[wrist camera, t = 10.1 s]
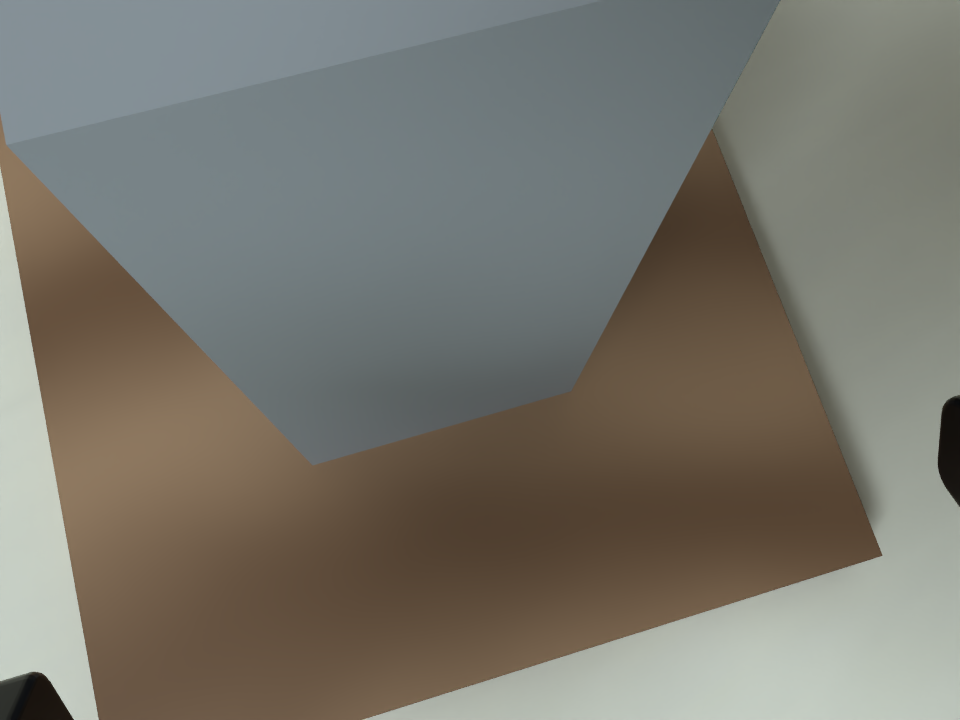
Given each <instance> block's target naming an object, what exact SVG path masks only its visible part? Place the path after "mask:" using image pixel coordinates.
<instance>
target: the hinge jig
mask: <svg viewBox="0 0 960 720" xmlns="http://www.w3.org/2000/svg"><path fill="white" fill-rule="evenodd" d="M0 167H1V172H2V178H3V184H4V189H5V195H6V200H7V206H8V212H9V217H10V223H11V229H12V234H13V240H14V245H15V251H16V257H17V262H18V268H19V273H20V279H21V285H22V290H23V296H24V301H25V307H26V313H27V318H28V324H29V330H30V335H31V341H32V346H33V352H34V358H35V363H36V369H37V374H38V380H39V386H40V391H41V397H42V403H43V408H44V414H45V419H46V425H47V431H48V436H49V442H50V447H51V453H52V459H53V464H54V470H55V476H56V481H57V487H58V492H59V498H60V504H61V509H62V515H63V520H64V526H65V532H66V537H67V543H68V549H69V554H70V560H71V565H72V571H73V577H74V582H75V588H76V593H77V599H78V605H79V610H80V616H81V622H82V627H83V633H84V638H85V644H86V650H87V655H88V661H89V666H90V672H91V678H92V683H93V689H94V695H95V700H96V706H97V711H98V717H99V720H363V719H366V718H369V717H372V716H375V715H378V714H382V713H385V712H388V711H391V710H394V709H398V708H401V707H404V706H407V705H410V704H413V703H417V702H420V701H423V700H426V699H429V698H432V697H436V696H439V695H442V694H445V693H448V692H451V691H455V690H458V689H461V688H464V687H467V686H470V685H474V684H477V683H480V682H483V681H486V680H490V679H493V678H496V677H499V676H502V675H505V674H509V673H512V672H515V671H518V670H521V669H524V668H528V667H531V666H534V665H537V664H540V663H543V662H547V661H550V660H553V659H556V658H559V657H562V656H566V655H569V654H572V653H575V652H578V651H582V650H585V649H588V648H591V647H594V646H597V645H601V644H604V643H607V642H610V641H613V640H616V639H620V638H623V637H626V636H629V635H632V634H635V633H639V632H642V631H645V630H648V629H651V628H654V627H658V626H661V625H664V624H667V623H670V622H673V621H677V620H680V619H683V618H686V617H689V616H693V615H696V614H699V613H702V612H705V611H708V610H712V609H715V608H718V607H721V606H724V605H727V604H731V603H734V602H737V601H740V600H743V599H746V598H750V597H753V596H756V595H759V594H762V593H765V592H769V591H772V590H775V589H778V588H781V587H785V586H788V585H791V584H794V583H797V582H800V581H804V580H807V579H810V578H813V577H816V576H819V575H823V574H826V573H829V572H832V571H835V570H838V569H842V568H845V567H848V566H851V565H854V564H857V563H861V562H864V561H867V560H870V559H873V558H877V557H880V556H882V553H881V551H880V548H879V546H878V543H877V541H876V538H875V536H874V533H873V531H872V528H871V526H870V523H869V520H868V518H867V515H866V513H865V510H864V508H863V505H862V503H861V500H860V498H859V495H858V493H857V490H856V488H855V485H854V483H853V480H852V478H851V475H850V473H849V470H848V468H847V465H846V463H845V460H844V458H843V455H842V453H841V450H840V448H839V445H838V443H837V440H836V438H835V435H834V433H833V430H832V428H831V425H830V423H829V420H828V418H827V415H826V413H825V410H824V408H823V405H822V403H821V400H820V398H819V395H818V393H817V390H816V388H815V385H814V383H813V380H812V378H811V375H810V373H809V370H808V368H807V365H806V363H805V360H804V358H803V355H802V353H801V350H800V348H799V345H798V343H797V340H796V338H795V335H794V333H793V330H792V328H791V325H790V323H789V320H788V318H787V315H786V313H785V310H784V308H783V305H782V303H781V300H780V298H779V295H778V293H777V290H776V288H775V285H774V283H773V280H772V278H771V275H770V273H769V270H768V268H767V265H766V263H765V260H764V258H763V255H762V253H761V250H760V248H759V245H758V243H757V240H756V238H755V235H754V233H753V230H752V228H751V225H750V223H749V220H748V218H747V215H746V213H745V210H744V208H743V205H742V203H741V200H740V198H739V195H738V193H737V190H736V188H735V185H734V183H733V180H732V178H731V175H730V173H729V170H728V168H727V165H726V163H725V160H724V158H723V155H722V153H721V150H720V148H719V145H718V143H717V140H716V138H715V135H714V133H713V130H712V129H711V131H710V133H709V135H708V136H707V138H706V140H705V142H704V144H703V146H702V148H701V150H700V151H699V153H698V155H697V157H696V159H695V161H694V163H693V164H692V166H691V168H690V170H689V172H688V174H687V176H686V178H685V179H684V181H683V183H682V185H681V187H680V189H679V191H678V193H677V194H676V196H675V198H674V200H673V202H672V204H671V206H670V207H669V209H668V211H667V213H666V215H665V217H664V219H663V221H662V222H661V224H660V226H659V228H658V230H657V232H656V234H655V236H654V237H653V239H652V241H651V243H650V245H649V247H648V249H647V250H646V252H645V254H644V256H643V258H642V260H641V262H640V264H639V265H638V267H637V269H636V271H635V273H634V275H633V277H632V279H631V280H630V282H629V284H628V286H627V288H626V290H625V292H624V293H623V295H622V297H621V299H620V301H619V303H618V305H617V307H616V308H615V310H614V312H613V314H612V316H611V318H610V320H609V322H608V323H607V325H606V327H605V329H604V331H603V333H602V335H601V336H600V338H599V340H598V342H597V344H596V346H595V348H594V350H593V351H592V353H591V355H590V357H589V359H588V361H587V363H586V365H585V366H584V368H583V370H582V372H581V374H580V376H579V378H578V379H577V381H576V383H575V385H574V387H573V389H572V391H570V392H567V393H563V394H560V395H556V396H553V397H549V398H546V399H542V400H539V401H535V402H532V403H528V404H525V405H521V406H518V407H515V408H511V409H508V410H504V411H501V412H497V413H494V414H490V415H487V416H483V417H480V418H476V419H473V420H469V421H466V422H462V423H459V424H455V425H452V426H448V427H445V428H441V429H438V430H434V431H431V432H427V433H424V434H420V435H417V436H413V437H410V438H406V439H403V440H400V441H396V442H393V443H389V444H386V445H382V446H379V447H375V448H372V449H368V450H365V451H361V452H358V453H354V454H351V455H347V456H344V457H340V458H337V459H333V460H330V461H326V462H323V463H319V464H316V465H312V464H311V463H310V462H309V461H308V460H307V459H306V458H305V457H304V456H303V455H302V454H301V453H300V452H299V451H298V450H297V449H296V448H295V447H294V446H293V444H292V443H291V442H290V441H289V440H288V439H287V438H286V437H285V436H284V435H283V434H282V433H281V432H280V431H279V430H278V429H277V428H276V427H275V426H274V425H273V424H272V422H271V421H270V420H269V419H268V418H267V417H266V416H265V415H264V414H263V413H262V412H261V411H260V410H259V409H258V408H257V407H256V406H255V405H254V404H253V403H252V402H251V401H250V399H249V398H248V397H247V396H246V395H245V394H244V393H243V392H242V391H241V390H240V389H239V388H238V387H237V386H236V385H235V384H234V383H233V382H232V381H231V380H230V379H229V378H228V376H227V375H226V374H225V373H224V372H223V371H222V370H221V369H220V368H219V367H218V366H217V365H216V364H215V363H214V362H213V361H212V360H211V359H210V358H209V357H208V356H207V355H206V353H205V352H204V351H203V350H202V349H201V348H200V347H199V346H198V345H197V344H196V343H195V342H194V341H193V340H192V339H191V338H190V337H189V336H188V335H187V334H186V333H185V332H184V330H183V329H182V328H181V327H180V326H179V325H178V324H177V323H176V322H175V321H174V320H173V319H172V318H171V317H170V316H169V315H168V314H167V313H166V312H165V311H164V310H163V308H162V307H161V306H160V305H159V304H158V303H157V302H156V301H155V300H154V299H153V298H152V297H151V296H150V295H149V294H148V293H147V292H146V291H145V290H144V289H143V288H142V287H141V285H140V284H139V283H138V282H137V281H136V280H135V279H134V278H133V277H132V276H131V275H130V274H129V273H128V272H127V271H126V270H125V269H124V268H123V267H122V266H121V265H120V264H119V262H118V261H117V260H116V259H115V258H114V257H113V256H112V255H111V254H110V253H109V252H108V251H107V250H106V249H105V248H104V247H103V246H102V245H101V244H100V243H99V242H98V241H97V239H96V238H95V237H94V236H93V235H92V234H91V233H90V232H89V231H88V230H87V229H86V228H85V227H84V226H83V225H82V224H81V223H80V222H79V221H78V220H77V219H76V218H75V216H74V215H73V214H72V213H71V212H70V211H69V210H68V209H67V208H66V207H65V206H64V205H63V204H62V203H61V202H60V201H59V200H58V199H57V198H56V197H55V196H54V195H53V193H52V192H51V191H50V190H49V189H48V188H47V187H46V186H45V185H44V184H43V183H42V182H41V181H40V180H39V179H38V178H37V177H36V176H35V175H34V174H33V173H32V171H31V170H30V169H29V168H28V167H27V166H26V165H25V164H24V163H23V162H22V161H21V160H20V159H19V158H18V157H17V156H16V155H15V154H14V153H13V152H12V151H11V150H10V148H9V147H8V146H7V145H6V142H5V136H4V131H3V125H2V120H1V114H0Z"/></svg>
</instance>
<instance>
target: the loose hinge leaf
mask: <svg viewBox="0 0 960 720" xmlns="http://www.w3.org/2000/svg"><path fill="white" fill-rule="evenodd" d="M779 2H780V0H0V114H1V120H2V125H3V131H4V136H5V142H6V145H7V146H8V147H9V148H10V150H11V151H12V152H13V153H14V154H15V155H16V156H17V157H18V158H19V159H20V160H21V161H22V162H23V163H24V164H25V165H26V166H27V167H28V168H29V169H30V170H31V171H32V173H33V174H34V175H35V176H36V177H37V178H38V179H39V180H40V181H41V182H42V183H43V184H44V185H45V186H46V187H47V188H48V189H49V190H50V191H51V192H52V193H53V195H54V196H55V197H56V198H57V199H58V200H59V201H60V202H61V203H62V204H63V205H64V206H65V207H66V208H67V209H68V210H69V211H70V212H71V213H72V214H73V215H74V216H75V218H76V219H77V220H78V221H79V222H80V223H81V224H82V225H83V226H84V227H85V228H86V229H87V230H88V231H89V232H90V233H91V234H92V235H93V236H94V237H95V238H96V239H97V241H98V242H99V243H100V244H101V245H102V246H103V247H104V248H105V249H106V250H107V251H108V252H109V253H110V254H111V255H112V256H113V257H114V258H115V259H116V260H117V261H118V262H119V264H120V265H121V266H122V267H123V268H124V269H125V270H126V271H127V272H128V273H129V274H130V275H131V276H132V277H133V278H134V279H135V280H136V281H137V282H138V283H139V284H140V285H141V287H142V288H143V289H144V290H145V291H146V292H147V293H148V294H149V295H150V296H151V297H152V298H153V299H154V300H155V301H156V302H157V303H158V304H159V305H160V306H161V307H162V308H163V310H164V311H165V312H166V313H167V314H168V315H169V316H170V317H171V318H172V319H173V320H174V321H175V322H176V323H177V324H178V325H179V326H180V327H181V328H182V329H183V330H184V332H185V333H186V334H187V335H188V336H189V337H190V338H191V339H192V340H193V341H194V342H195V343H196V344H197V345H198V346H199V347H200V348H201V349H202V350H203V351H204V352H205V353H206V355H207V356H208V357H209V358H210V359H211V360H212V361H213V362H214V363H215V364H216V365H217V366H218V367H219V368H220V369H221V370H222V371H223V372H224V373H225V374H226V375H227V376H228V378H229V379H230V380H231V381H232V382H233V383H234V384H235V385H236V386H237V387H238V388H239V389H240V390H241V391H242V392H243V393H244V394H245V395H246V396H247V397H248V398H249V399H250V401H251V402H252V403H253V404H254V405H255V406H256V407H257V408H258V409H259V410H260V411H261V412H262V413H263V414H264V415H265V416H266V417H267V418H268V419H269V420H270V421H271V422H272V424H273V425H274V426H275V427H276V428H277V429H278V430H279V431H280V432H281V433H282V434H283V435H284V436H285V437H286V438H287V439H288V440H289V441H290V442H291V443H292V444H293V446H294V447H295V448H296V449H297V450H298V451H299V452H300V453H301V454H302V455H303V456H304V457H305V458H306V459H307V460H308V461H309V462H310V463H311V464H312V465H316V464H319V463H323V462H326V461H330V460H333V459H337V458H340V457H344V456H347V455H351V454H354V453H358V452H361V451H365V450H368V449H372V448H375V447H379V446H382V445H386V444H389V443H393V442H396V441H400V440H403V439H406V438H410V437H413V436H417V435H420V434H424V433H427V432H431V431H434V430H438V429H441V428H445V427H448V426H452V425H455V424H459V423H462V422H466V421H469V420H473V419H476V418H480V417H483V416H487V415H490V414H494V413H497V412H501V411H504V410H508V409H511V408H515V407H518V406H521V405H525V404H528V403H532V402H535V401H539V400H542V399H546V398H549V397H553V396H556V395H560V394H563V393H567V392H570V391H572V389H573V387H574V385H575V383H576V381H577V379H578V378H579V376H580V374H581V372H582V370H583V368H584V366H585V365H586V363H587V361H588V359H589V357H590V355H591V353H592V351H593V350H594V348H595V346H596V344H597V342H598V340H599V338H600V336H601V335H602V333H603V331H604V329H605V327H606V325H607V323H608V322H609V320H610V318H611V316H612V314H613V312H614V310H615V308H616V307H617V305H618V303H619V301H620V299H621V297H622V295H623V293H624V292H625V290H626V288H627V286H628V284H629V282H630V280H631V279H632V277H633V275H634V273H635V271H636V269H637V267H638V265H639V264H640V262H641V260H642V258H643V256H644V254H645V252H646V250H647V249H648V247H649V245H650V243H651V241H652V239H653V237H654V236H655V234H656V232H657V230H658V228H659V226H660V224H661V222H662V221H663V219H664V217H665V215H666V213H667V211H668V209H669V207H670V206H671V204H672V202H673V200H674V198H675V196H676V194H677V193H678V191H679V189H680V187H681V185H682V183H683V181H684V179H685V178H686V176H687V174H688V172H689V170H690V168H691V166H692V164H693V163H694V161H695V159H696V157H697V155H698V153H699V151H700V150H701V148H702V146H703V144H704V142H705V140H706V138H707V136H708V135H709V133H710V131H711V129H712V127H713V125H714V123H715V121H716V120H717V118H718V116H719V114H720V112H721V110H722V108H723V107H724V105H725V103H726V101H727V99H728V97H729V95H730V93H731V92H732V90H733V88H734V86H735V84H736V82H737V80H738V78H739V77H740V75H741V73H742V71H743V69H744V67H745V65H746V64H747V62H748V60H749V58H750V56H751V54H752V52H753V50H754V49H755V47H756V45H757V43H758V41H759V39H760V37H761V35H762V34H763V32H764V30H765V28H766V26H767V24H768V22H769V20H770V19H771V17H772V15H773V13H774V11H775V9H776V7H777V6H778V4H779Z"/></svg>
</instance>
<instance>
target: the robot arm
mask: <svg viewBox="0 0 960 720" xmlns="http://www.w3.org/2000/svg"><path fill="white" fill-rule="evenodd" d="M938 469H939V474H940V477H941V479H942V481H943V483H944V485H945V487H946V489H947V490H948V491H949V493H950V494H951V496H952V497H953V498H954V500H955V501H956V502H957V504H958V505H959V506H960V395H958V396H954V397H952V398H950V399H949V400H947V401H946V403H945V404H944V406H943V408H942V415H941V427H940V439H939V452H938ZM0 720H74V719H73V718H72V716H71V715H70V713H69V711H68V710H67V708H66V706H65V705H64V703H63V702H62V700H61V698H60V697H59V695H58V694H57V692H56V690H55V689H54V687H53V685H52V684H51V682H50V681H49V680H48V678H47V677H46V676H45V675H43V674H42V673H39V672H30V673H26V674H23V675H20V676H16V677H13V678H10V679H6V680H3V681H0Z"/></svg>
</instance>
